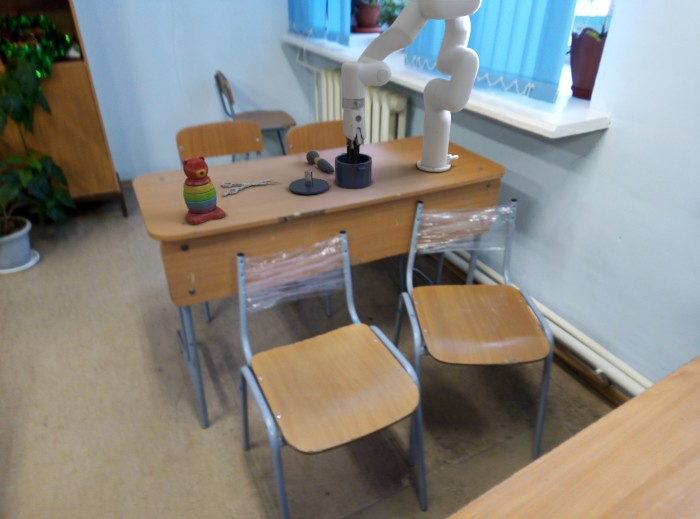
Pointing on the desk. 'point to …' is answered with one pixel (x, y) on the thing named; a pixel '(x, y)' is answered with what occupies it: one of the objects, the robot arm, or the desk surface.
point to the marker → (349, 153)
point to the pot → (353, 171)
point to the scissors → (240, 185)
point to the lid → (308, 184)
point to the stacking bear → (199, 192)
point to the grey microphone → (319, 161)
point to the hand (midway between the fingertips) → (353, 157)
